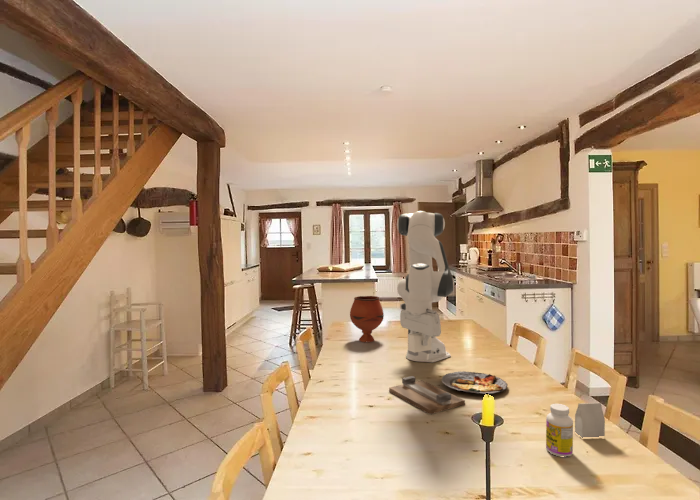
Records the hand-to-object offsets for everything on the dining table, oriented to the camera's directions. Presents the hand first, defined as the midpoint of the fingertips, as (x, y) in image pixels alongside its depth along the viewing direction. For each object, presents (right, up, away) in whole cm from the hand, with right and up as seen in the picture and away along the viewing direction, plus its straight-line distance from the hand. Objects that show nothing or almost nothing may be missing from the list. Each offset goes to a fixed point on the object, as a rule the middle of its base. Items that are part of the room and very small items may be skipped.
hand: (419, 343), depth 156 cm
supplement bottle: (+32, -21, -41) cm, 56 cm away
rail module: (0, -4, 0) cm, 4 cm away
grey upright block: (+45, -21, -32) cm, 59 cm away
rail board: (+2, -20, -1) cm, 20 cm away
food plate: (+23, -20, +9) cm, 32 cm away
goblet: (-17, -17, +82) cm, 86 cm away
